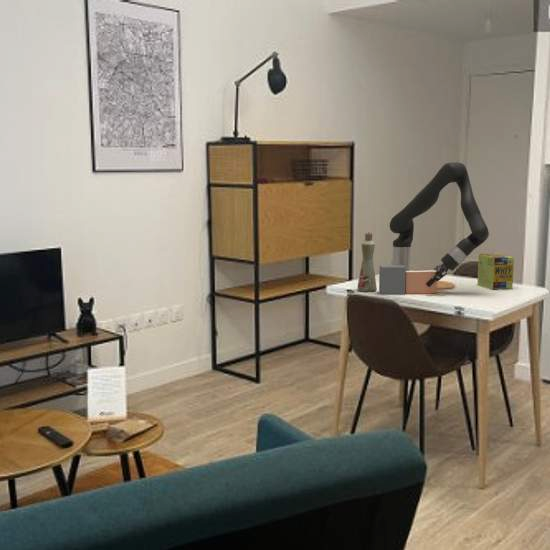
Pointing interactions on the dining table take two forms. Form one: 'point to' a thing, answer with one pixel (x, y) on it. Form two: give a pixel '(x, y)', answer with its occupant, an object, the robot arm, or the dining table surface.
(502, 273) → the protein box
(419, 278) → the book
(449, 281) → the dining table surface
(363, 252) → the bottle
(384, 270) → the block
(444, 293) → the mat
